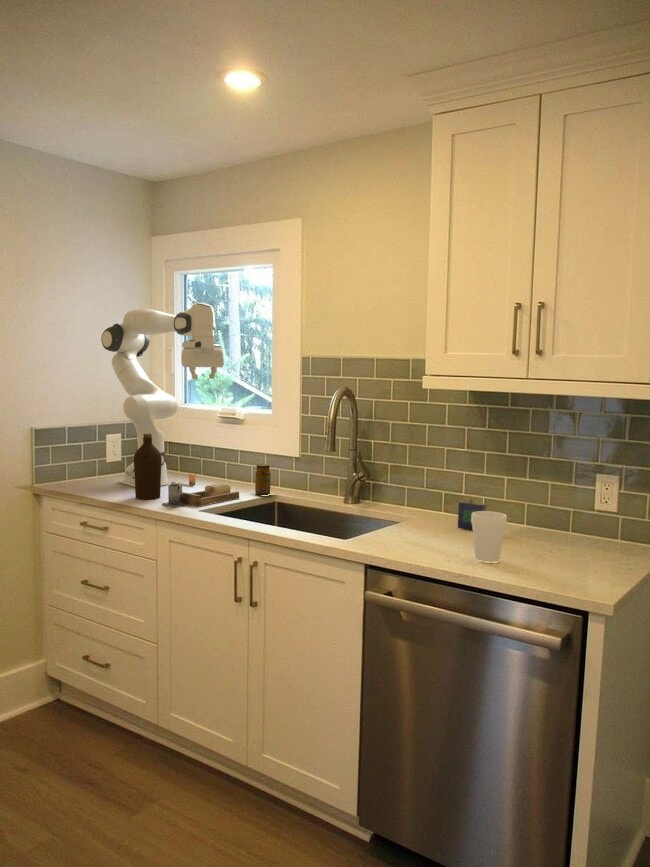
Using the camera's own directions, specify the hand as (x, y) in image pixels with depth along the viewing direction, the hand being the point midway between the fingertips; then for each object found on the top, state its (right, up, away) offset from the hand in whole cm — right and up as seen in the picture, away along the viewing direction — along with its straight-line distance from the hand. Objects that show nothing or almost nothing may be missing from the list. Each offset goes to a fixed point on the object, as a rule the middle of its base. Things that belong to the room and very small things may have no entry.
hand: (203, 378), depth 291 cm
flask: (+97, -54, -53) cm, 122 cm away
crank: (-3, -41, -24) cm, 48 cm away
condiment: (+24, -47, +3) cm, 53 cm away
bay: (+4, -48, -10) cm, 49 cm away
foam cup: (+93, -57, -90) cm, 142 cm away
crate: (+7, -48, -6) cm, 48 cm away
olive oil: (-20, -47, -7) cm, 52 cm away
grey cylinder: (-7, -49, -21) cm, 53 cm away
